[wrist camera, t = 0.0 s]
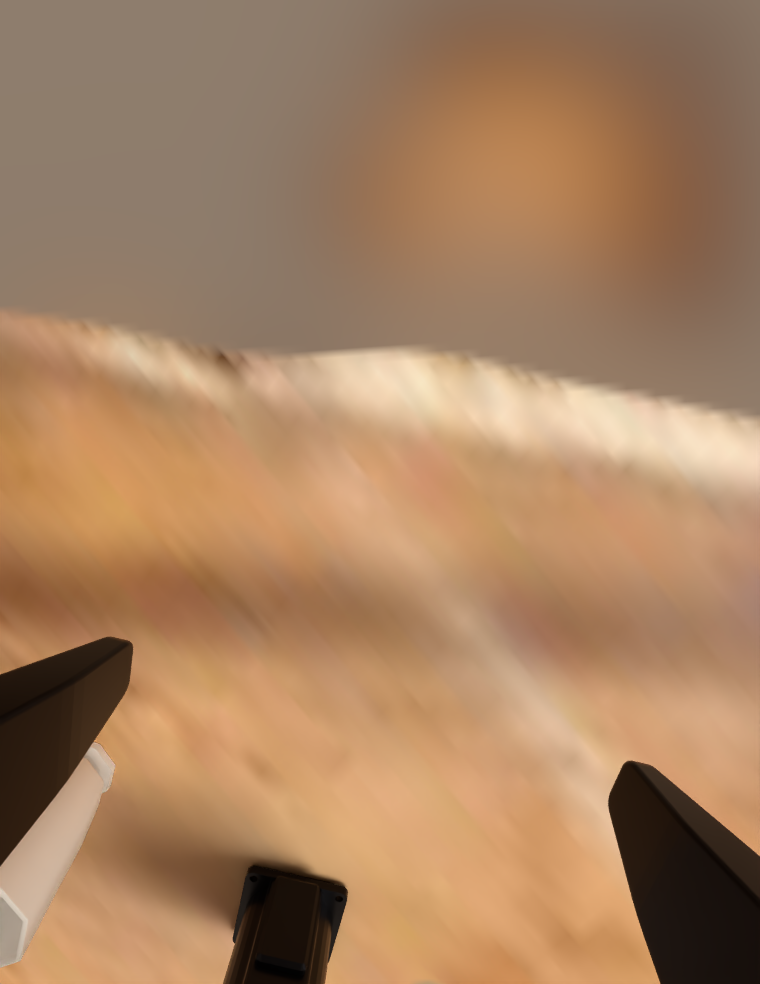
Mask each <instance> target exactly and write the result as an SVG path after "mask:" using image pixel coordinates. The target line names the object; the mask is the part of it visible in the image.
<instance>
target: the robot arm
mask: <svg viewBox="0 0 760 984" xmlns="http://www.w3.org/2000/svg"><path fill="white" fill-rule="evenodd" d="M132 655H133V645H132V643H131V642H130V641H128V640H124V639H119V638H115V637H105V638H102V639H99V640H96V641H94V642H91V643H88V644H85V645H82V646H80V647H77V648H74V649H71V650H68V651H65V652H63V653H60V654H57V655H54V656H51V657H48V658H46V659H43V660H40V661H37V662H34V663H32V664H29V665H26V666H23V667H20V668H17V669H15V670H12V671H9V672H6V673H3V674H0V866H1V865H2V864H3V863H4V861H5V860H6V859H7V858H8V856H9V855H10V854H11V852H12V851H13V850H14V849H15V847H16V846H17V845H18V844H19V842H20V841H21V840H22V839H23V837H24V836H25V835H26V833H27V832H28V831H29V830H30V828H31V827H32V826H33V825H34V823H35V822H36V821H37V820H38V818H39V817H40V816H41V814H42V813H43V812H44V811H45V809H46V808H47V807H48V806H49V804H50V803H51V802H52V801H53V799H54V798H55V797H56V795H57V794H58V793H59V791H60V790H61V789H62V788H63V786H64V785H65V784H66V782H67V781H68V780H69V778H70V777H71V775H72V774H73V772H74V771H75V769H76V768H77V766H78V765H79V763H80V762H81V760H82V759H83V757H84V756H85V754H86V753H87V751H88V750H89V748H90V746H91V745H92V743H93V742H94V740H95V739H96V737H97V736H98V734H99V733H100V731H101V730H102V728H103V727H104V725H105V723H106V722H107V720H108V719H109V717H110V716H111V714H112V713H113V711H114V710H115V708H116V707H117V705H118V704H119V702H120V701H121V699H122V697H123V696H124V694H125V692H126V690H127V688H128V685H129V681H130V673H131V664H132ZM608 806H609V813H610V816H611V820H612V824H613V828H614V832H615V835H616V839H617V843H618V847H619V851H620V854H621V858H622V862H623V866H624V870H625V873H626V877H627V881H628V885H629V889H630V892H631V896H632V900H633V903H634V906H635V910H636V913H637V917H638V920H639V923H640V926H641V929H642V932H643V935H644V938H645V941H646V944H647V946H648V949H649V952H650V955H651V958H652V961H653V964H654V966H655V969H656V972H657V975H658V978H659V981H660V984H760V856H759V855H758V854H756V853H755V852H754V851H753V850H752V849H751V848H749V847H748V846H747V845H746V844H745V843H743V842H742V841H741V840H740V839H739V838H737V837H736V836H735V835H734V834H733V833H732V832H730V831H729V830H728V829H727V828H726V827H724V826H723V825H722V824H721V823H720V822H718V821H717V820H716V819H715V818H714V817H713V816H711V815H710V814H709V813H708V812H707V811H705V810H704V809H703V808H702V807H701V806H699V805H698V804H697V803H696V802H695V801H694V800H692V799H691V798H690V797H689V796H688V795H686V794H685V793H684V792H683V791H682V790H680V789H679V788H678V787H677V786H676V785H675V784H673V783H672V782H671V781H670V780H669V779H667V778H666V777H665V776H664V775H663V774H662V773H660V772H659V771H658V770H657V769H656V768H654V767H653V766H651V765H648V764H644V763H640V762H635V761H627V762H625V763H624V764H623V766H622V768H621V770H620V772H619V775H618V777H617V779H616V781H615V783H614V785H613V788H612V790H611V792H610V795H609V800H608ZM347 895H348V891H347V889H346V888H345V887H343V886H339V885H335V884H330V883H326V882H322V881H318V880H313V879H309V878H305V877H301V876H296V875H292V874H288V873H284V872H279V871H275V870H271V869H267V868H262V867H258V866H251V867H250V868H249V869H248V871H247V875H246V878H245V883H244V887H243V892H242V897H241V902H240V906H239V911H238V916H237V920H236V925H235V930H234V934H233V942H234V943H235V945H234V949H233V952H232V955H231V959H230V962H229V965H228V969H227V972H226V975H225V979H224V982H223V984H325V980H326V972H327V964H328V962H329V960H330V957H331V953H332V950H333V946H334V943H335V940H336V936H337V933H338V929H339V926H340V923H341V919H342V916H343V912H344V909H345V906H346V902H347Z"/></svg>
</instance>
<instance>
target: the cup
mask: <svg viewBox="0 0 760 984" xmlns="http://www.w3.org/2000/svg"><path fill="white" fill-rule="evenodd" d="M114 770H115V764H114V763H113V761H112V760H111V758H110V757H109V756H108V754H107V753H106V752H105V750H104V749H103V747H102V746H101V745H100V744H98V743H95V742H93V743H92V745H91V746H90V748H89V750H88V751H87V753H86V754H85V756H84V757H83V759H82V760H81V762H80V763H79V765H78V766H77V768H76V769H75V771H74V772H73V774H72V775H71V777H70V778H69V780H68V781H67V782H66V784H65V785H64V786H63V788H62V789H61V790H60V791H59V793H58V794H57V795H56V797H55V798H54V799H53V801H52V802H51V803H50V804H49V806H48V807H47V808H46V809H45V811H44V812H43V813H42V814H41V816H40V817H39V818H38V820H37V821H36V822H35V823H34V825H33V826H32V827H31V828H30V830H29V831H28V832H27V833H26V835H25V836H24V837H23V839H22V840H21V841H20V842H19V844H18V845H17V846H16V847H15V849H14V850H13V851H12V852H11V854H10V855H9V856H8V858H7V859H6V860H5V861H4V863H3V864H2V865H1V866H0V968H1V967H4V966H7V965H10V964H13V963H16V962H19V961H21V959H22V957H23V955H24V953H25V951H26V949H27V948H28V946H29V944H30V942H31V940H32V938H33V936H34V934H35V933H36V931H37V929H38V927H39V925H40V923H41V921H42V919H43V917H44V915H45V913H46V912H47V910H48V908H49V906H50V904H51V902H52V900H53V898H54V896H55V894H56V892H57V890H58V889H59V887H60V885H61V883H62V881H63V879H64V877H65V876H66V874H67V872H68V870H69V868H70V866H71V864H72V863H73V861H74V859H75V857H76V855H77V853H78V852H79V850H80V848H81V846H82V844H83V841H84V839H85V837H86V834H87V832H88V830H89V827H90V825H91V823H92V820H93V818H94V816H95V813H96V811H97V809H98V806H99V803H100V798H101V794H102V793H104V792H107V790H108V789H109V788H110V786H111V782H112V778H113V774H114Z"/></svg>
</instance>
